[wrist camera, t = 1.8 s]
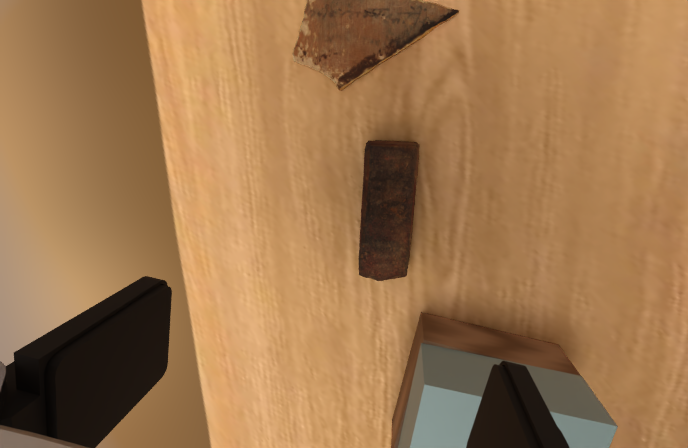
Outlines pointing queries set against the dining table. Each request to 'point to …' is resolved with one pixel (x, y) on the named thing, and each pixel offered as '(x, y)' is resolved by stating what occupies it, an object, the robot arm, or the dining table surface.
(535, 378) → the tower top
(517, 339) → the tower base
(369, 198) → the brick
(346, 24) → the shard
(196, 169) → the dining table surface
